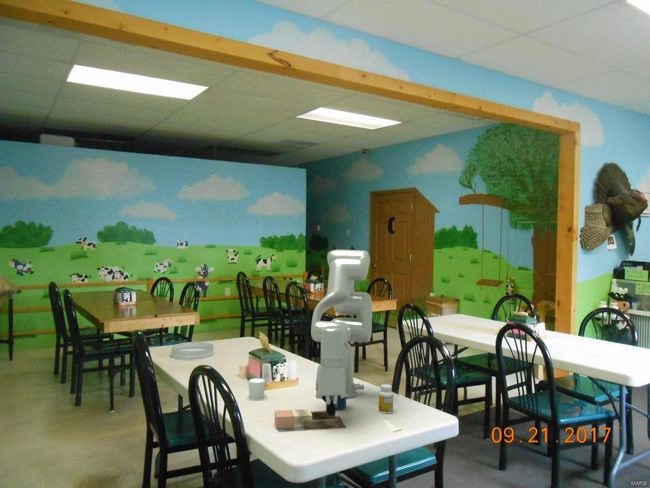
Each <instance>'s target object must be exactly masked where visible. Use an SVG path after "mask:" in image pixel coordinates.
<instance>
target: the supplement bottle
mask: <svg viewBox="0 0 650 488" xmlns="http://www.w3.org/2000/svg"><path fill="white" fill-rule="evenodd" d="M392 389H393V388H392V385H390V384H388V383H387V384H386V383H384V384H383V383H382V384H381V385H380V391H379V392H378V412H379V411H380V412H379V413H381V412H385V413H388V414H390V413H389V412H392V411H393V412H394V392H393V391H392ZM393 412H392V413H393ZM385 413H384V414H385Z"/></svg>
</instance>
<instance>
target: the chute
mask: <svg viewBox="0 0 650 488" xmlns="http://www.w3.org/2000/svg"><path fill="white" fill-rule="evenodd" d="M310 412H311V414H312V420H305V428H287V429H277V431H278V433H286V432H302V431H303V432H304V431H321V430H338V429H347V426H346V425H345V422H344V421H343V420H342V418H341V416H340V415H336V411H335V412H334V416H332V415H331V416H329V414H328V413H327V412H326V410H318V411H310Z"/></svg>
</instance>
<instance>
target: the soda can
mask: <svg viewBox="0 0 650 488" xmlns="http://www.w3.org/2000/svg"><path fill="white" fill-rule="evenodd" d="M329 399H330V402H331V400H332V396H329ZM346 408H347V398H346V397H344V398H340V399H339V400H338V401H337V403H336V405H335V411H344V410H345V409H346Z"/></svg>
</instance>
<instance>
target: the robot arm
mask: <svg viewBox="0 0 650 488" xmlns="http://www.w3.org/2000/svg"><path fill="white" fill-rule="evenodd" d="M326 256H327V257H326V258H327V265H328V266H329V270H328V271H329V272H328V280H327V290H326V291H327V292H326V294H325V296H324V297H323V298H322V299H321V300H320V301H319V302H318V303H317V305H316V306H315V308H314V310H313V312H312V313H313V314H312V318H311V319H312V320H311V327H310V329H311V330H310V336H311V338H312V340H313V341H314V342H317V343H320V364H318V366H317V370H316V372H317V373H316V376H315V377H316V379H315V381H316V382H315V391H316V393H315V398H316V399H318V400H322V401H324V403H325V411H326V412H327V413H328V414H329V416H331V415H332V416H334V412H335V413H336V410H335V405H336V403H337V401H338V400H339V399H340V398H344V397H346V399H349V398H354V397H356V396H357V392H358V390H365V384H360V383H355V382H354V366H355V364H354V362H355V361H354V360H355V357H354V356H355V355H354V354H355V352H354V349H353V347H352V346H351V345H350V343H349V342H352V343H353V342H354V343H368V342H369V341H370V340H371V338H372V333H373V332H372V331H373V327H372V325H373V323H372V322H373V320H372V319H373V300H372V297H371V295H370V294H369V293H368V292H363V291H355V284H356V283H355V281H365V280H366V279H367V276H368V273H369V269H370V263H371V258H370V253H369V252H368V251H367V250H361V249H333V250H330V251H329V252H328V253H327V255H326ZM332 307H333V310H334V312H335V314H338V315H345V316H346V315H347V316H359V317H360V318H355V317H354V318H352V317H335V318H333V319H332V320H331V321H330V320H329V321H328V320H327V321H326V320H321V318H322V316H323V314H324V313H325V312H326V311H327V310H329V309H331V308H332ZM329 396H332V400H331V402H330V399H329Z"/></svg>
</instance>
